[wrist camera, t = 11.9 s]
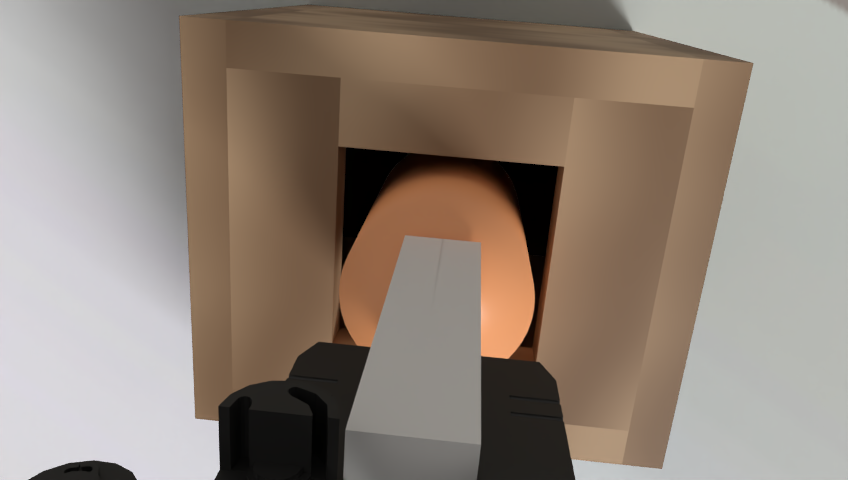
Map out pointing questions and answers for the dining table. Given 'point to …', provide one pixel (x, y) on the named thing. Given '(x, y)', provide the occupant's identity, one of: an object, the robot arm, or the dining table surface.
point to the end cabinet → (468, 138)
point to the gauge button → (445, 219)
